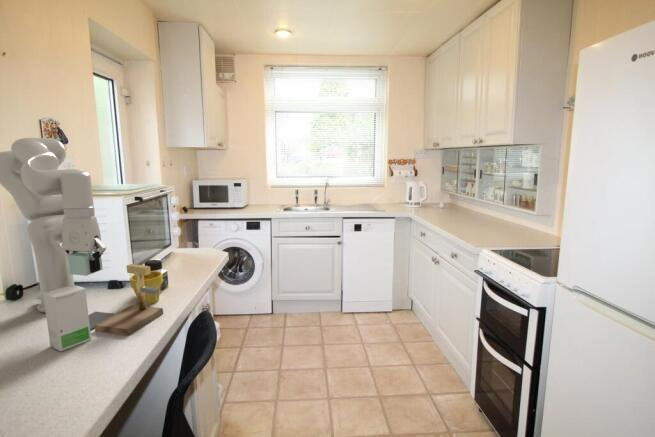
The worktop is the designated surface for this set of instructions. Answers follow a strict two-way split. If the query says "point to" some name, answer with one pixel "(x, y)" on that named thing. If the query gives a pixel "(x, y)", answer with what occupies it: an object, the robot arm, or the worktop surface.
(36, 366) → the worktop surface
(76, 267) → the mint green cube
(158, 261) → the medicine bottle
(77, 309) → the skincare box
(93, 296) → the worktop surface
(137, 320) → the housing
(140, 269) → the t key
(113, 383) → the worktop surface
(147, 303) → the plant pot
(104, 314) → the mat
